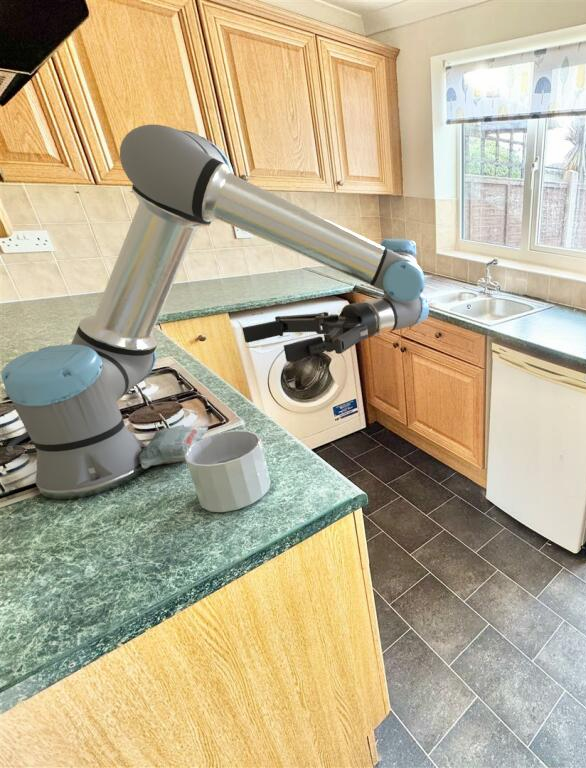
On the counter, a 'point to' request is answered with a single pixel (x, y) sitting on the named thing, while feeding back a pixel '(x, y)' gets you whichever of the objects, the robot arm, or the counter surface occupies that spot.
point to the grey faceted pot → (228, 470)
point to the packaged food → (170, 445)
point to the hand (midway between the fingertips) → (264, 344)
